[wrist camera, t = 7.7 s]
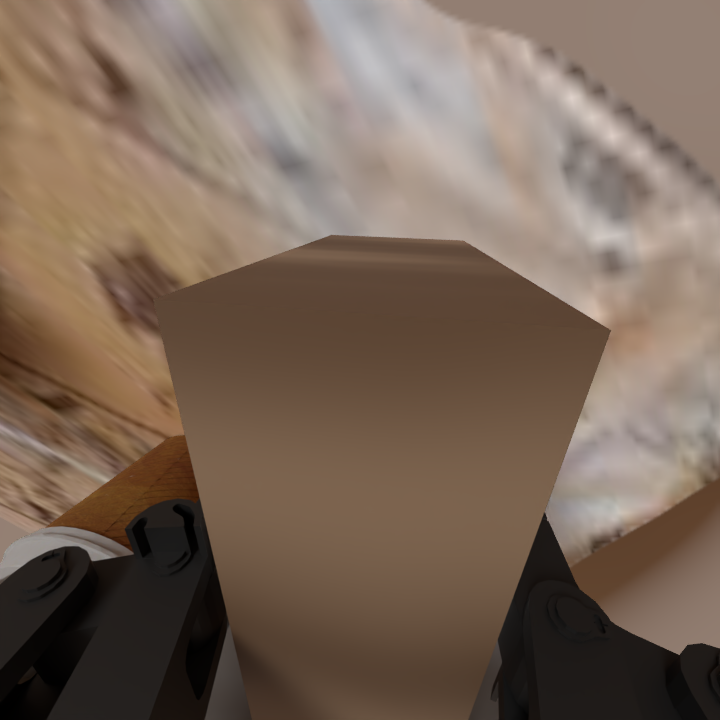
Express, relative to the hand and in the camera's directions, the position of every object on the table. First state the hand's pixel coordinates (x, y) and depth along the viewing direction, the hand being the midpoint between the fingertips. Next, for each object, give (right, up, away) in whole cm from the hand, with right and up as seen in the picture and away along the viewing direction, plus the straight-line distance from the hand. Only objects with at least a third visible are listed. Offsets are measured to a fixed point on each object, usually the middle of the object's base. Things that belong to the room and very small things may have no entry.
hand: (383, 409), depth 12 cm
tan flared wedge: (0, 0, +1) cm, 1 cm away
